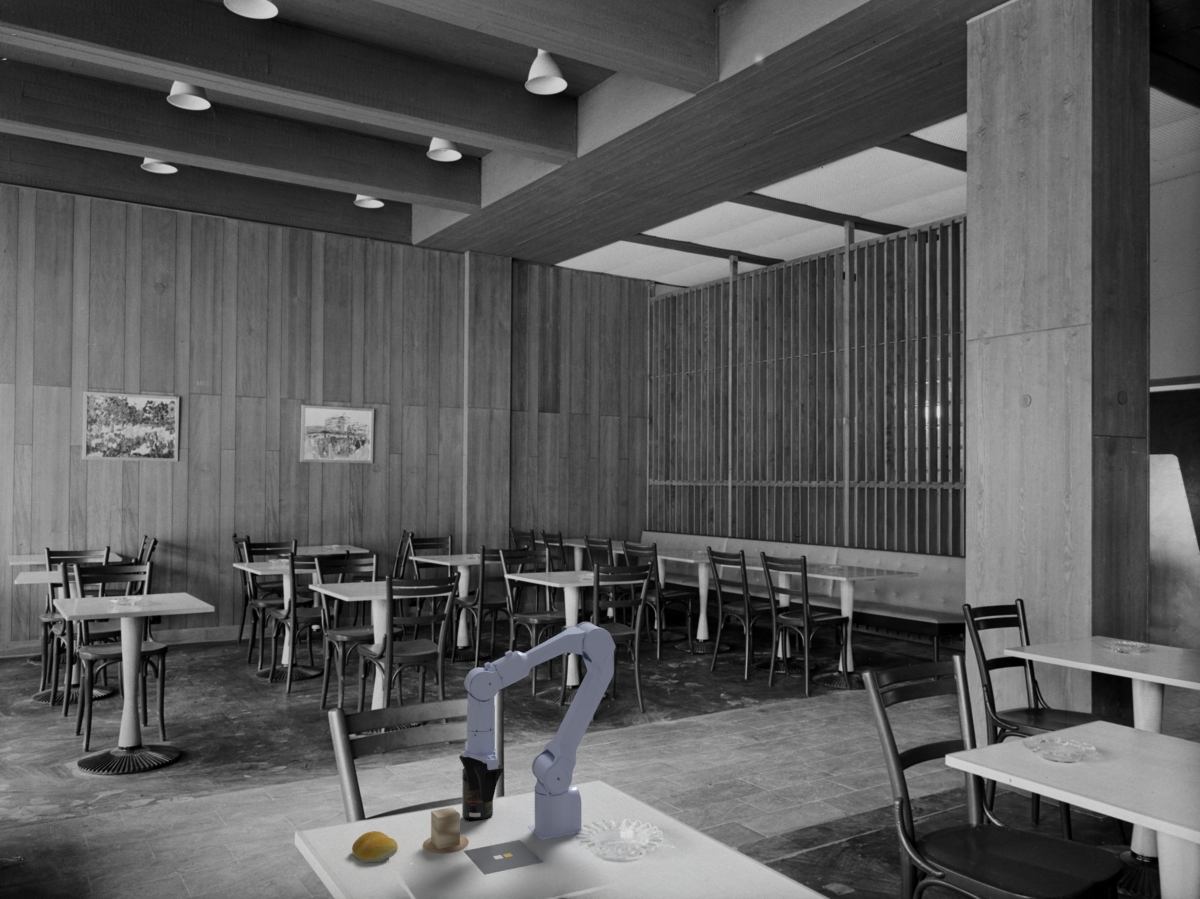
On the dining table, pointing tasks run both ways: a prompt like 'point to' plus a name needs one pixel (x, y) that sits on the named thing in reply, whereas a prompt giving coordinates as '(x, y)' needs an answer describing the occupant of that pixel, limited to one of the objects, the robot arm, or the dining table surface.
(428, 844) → the cork coaster
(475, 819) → the supplement container
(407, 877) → the dining table surface
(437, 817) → the maple block
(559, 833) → the robot arm
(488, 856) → the tile
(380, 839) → the bread roll
